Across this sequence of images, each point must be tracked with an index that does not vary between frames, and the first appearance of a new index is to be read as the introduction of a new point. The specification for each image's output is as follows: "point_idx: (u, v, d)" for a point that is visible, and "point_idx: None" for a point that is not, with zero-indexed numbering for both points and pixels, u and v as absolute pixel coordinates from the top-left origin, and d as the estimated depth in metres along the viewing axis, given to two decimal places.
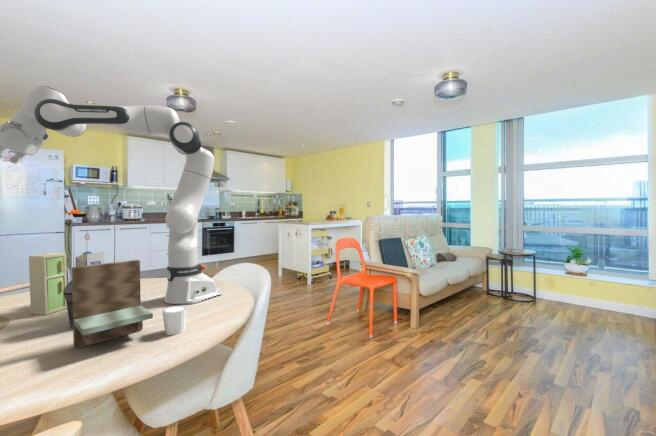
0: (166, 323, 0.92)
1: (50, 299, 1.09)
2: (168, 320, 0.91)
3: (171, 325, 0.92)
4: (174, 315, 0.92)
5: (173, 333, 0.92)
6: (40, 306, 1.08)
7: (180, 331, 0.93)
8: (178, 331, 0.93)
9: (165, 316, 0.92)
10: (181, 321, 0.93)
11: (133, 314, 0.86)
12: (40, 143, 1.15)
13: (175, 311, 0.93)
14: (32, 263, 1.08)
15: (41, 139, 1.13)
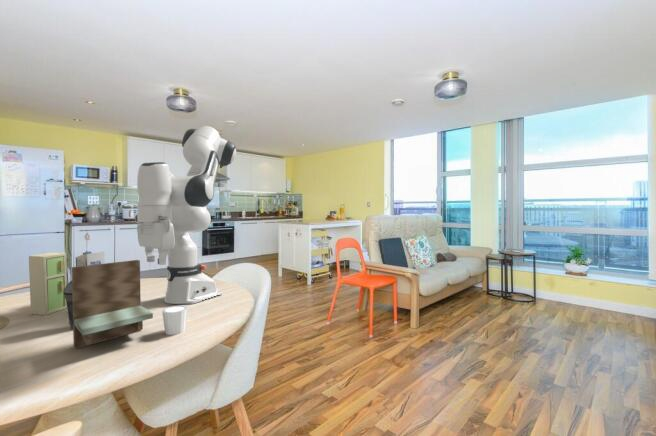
0: (166, 323, 0.92)
1: (50, 299, 1.09)
2: (168, 320, 0.91)
3: (171, 325, 0.92)
4: (174, 315, 0.92)
5: (173, 333, 0.92)
6: (40, 306, 1.08)
7: (180, 331, 0.93)
8: (178, 331, 0.93)
9: (165, 316, 0.92)
10: (181, 321, 0.93)
11: (133, 314, 0.86)
12: None
13: (175, 311, 0.93)
14: (32, 263, 1.07)
15: None
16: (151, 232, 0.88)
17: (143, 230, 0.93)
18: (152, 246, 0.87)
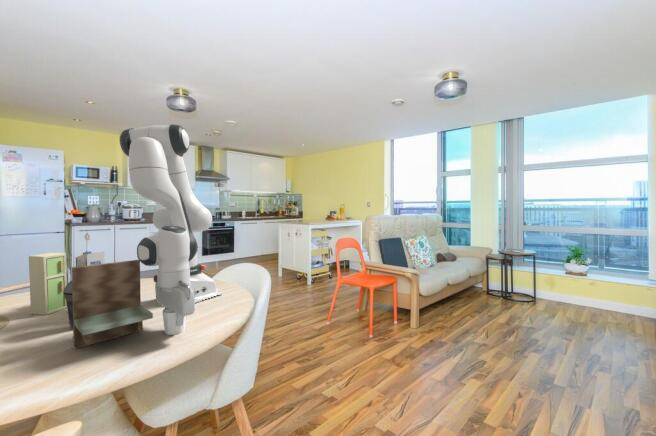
0: (166, 323, 0.92)
1: (50, 299, 1.09)
2: (168, 320, 0.91)
3: (171, 325, 0.92)
4: (174, 315, 0.92)
5: (173, 333, 0.92)
6: (40, 306, 1.08)
7: (180, 331, 0.93)
8: (178, 331, 0.93)
9: (165, 316, 0.92)
10: None
11: (133, 314, 0.86)
12: None
13: None
14: (31, 263, 1.07)
15: None
16: (171, 295, 0.92)
17: (161, 289, 0.97)
18: (172, 309, 0.91)
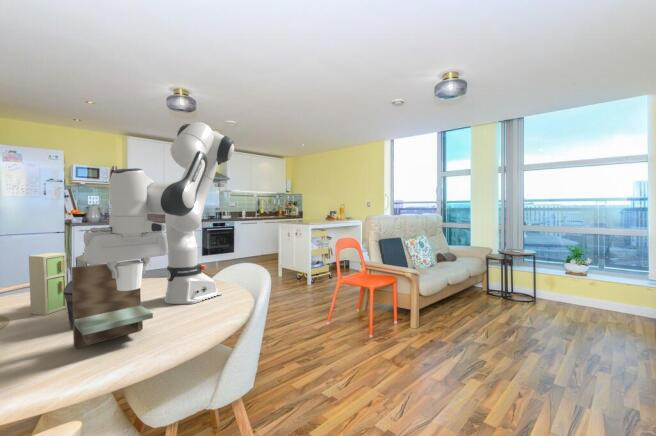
0: None
1: (50, 299, 1.09)
2: None
3: None
4: None
5: (117, 287, 0.84)
6: (40, 306, 1.08)
7: (119, 288, 0.83)
8: (117, 287, 0.83)
9: None
10: None
11: (133, 314, 0.86)
12: (161, 237, 0.90)
13: (119, 264, 0.84)
14: (32, 263, 1.08)
15: (155, 232, 0.88)
16: None
17: None
18: None
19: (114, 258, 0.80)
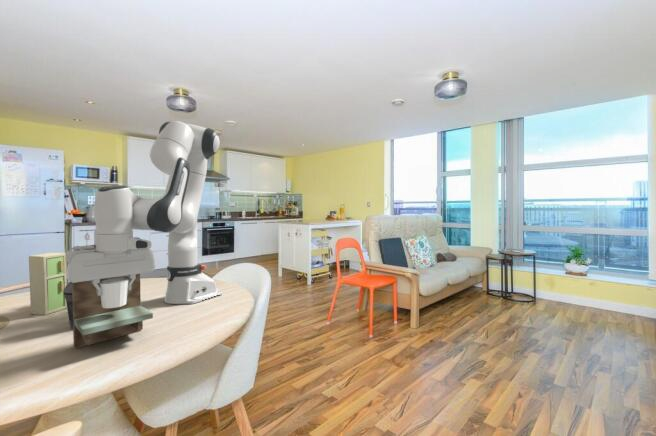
0: None
1: (50, 299, 1.09)
2: None
3: None
4: None
5: None
6: (40, 306, 1.08)
7: (102, 305, 0.83)
8: (102, 304, 0.84)
9: None
10: None
11: (133, 314, 0.86)
12: (147, 254, 0.90)
13: (104, 281, 0.84)
14: (31, 263, 1.07)
15: (140, 249, 0.88)
16: None
17: None
18: None
19: (96, 276, 0.81)
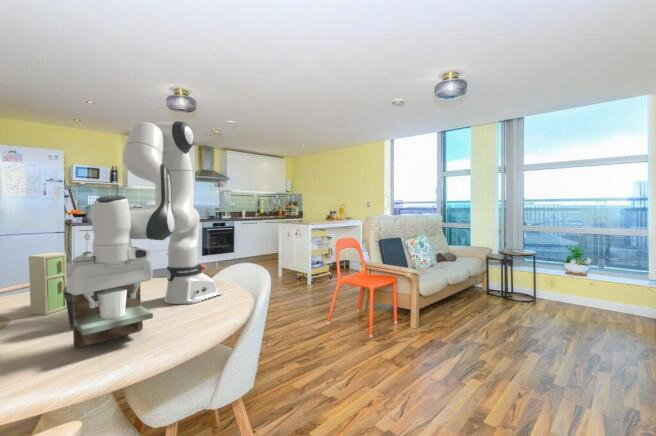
0: None
1: (50, 299, 1.09)
2: None
3: None
4: None
5: None
6: (40, 306, 1.08)
7: (102, 316, 0.83)
8: (101, 315, 0.84)
9: None
10: (101, 305, 0.83)
11: (133, 314, 0.86)
12: (146, 263, 0.91)
13: (102, 292, 0.84)
14: (32, 263, 1.07)
15: (139, 258, 0.89)
16: None
17: None
18: None
19: (97, 287, 0.81)
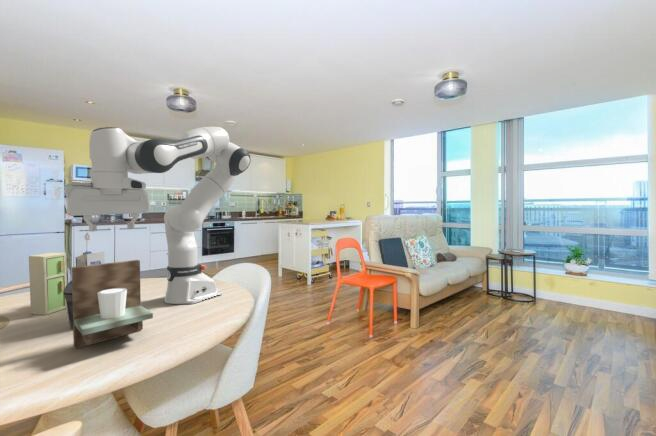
0: None
1: (50, 299, 1.09)
2: None
3: None
4: None
5: None
6: (40, 306, 1.08)
7: (102, 316, 0.83)
8: (101, 315, 0.84)
9: None
10: (101, 305, 0.83)
11: (133, 314, 0.86)
12: (142, 195, 0.94)
13: (102, 292, 0.84)
14: (31, 263, 1.08)
15: (135, 189, 0.92)
16: None
17: None
18: None
19: (94, 211, 0.86)
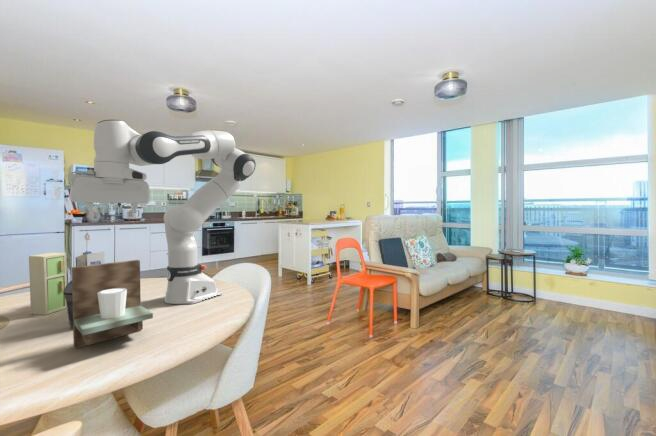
0: None
1: (50, 299, 1.09)
2: None
3: None
4: None
5: None
6: (40, 306, 1.08)
7: (102, 316, 0.83)
8: (101, 315, 0.84)
9: None
10: (101, 305, 0.83)
11: (133, 314, 0.86)
12: (143, 185, 0.98)
13: (102, 292, 0.84)
14: (32, 263, 1.07)
15: (136, 180, 0.96)
16: None
17: None
18: None
19: (96, 199, 0.90)
